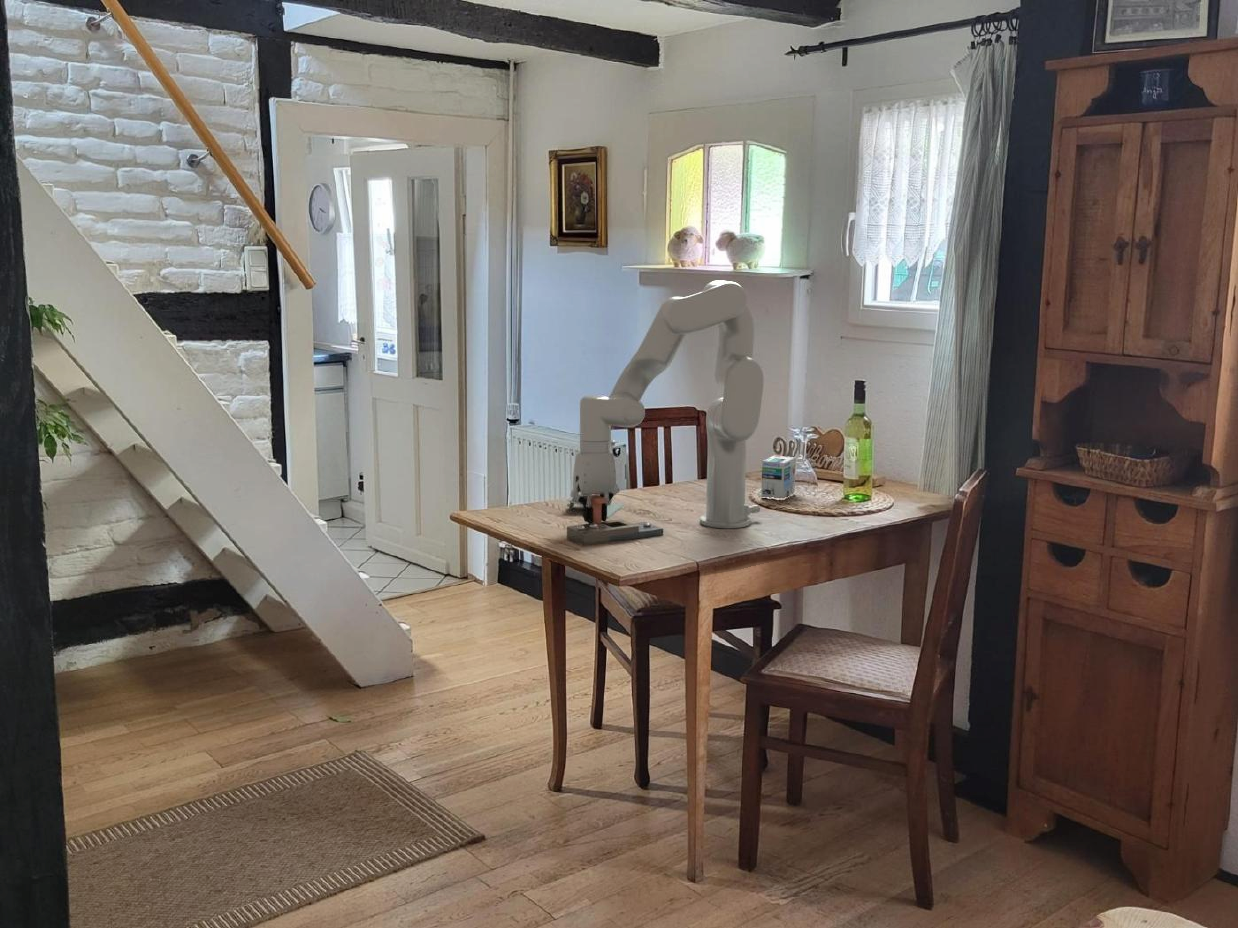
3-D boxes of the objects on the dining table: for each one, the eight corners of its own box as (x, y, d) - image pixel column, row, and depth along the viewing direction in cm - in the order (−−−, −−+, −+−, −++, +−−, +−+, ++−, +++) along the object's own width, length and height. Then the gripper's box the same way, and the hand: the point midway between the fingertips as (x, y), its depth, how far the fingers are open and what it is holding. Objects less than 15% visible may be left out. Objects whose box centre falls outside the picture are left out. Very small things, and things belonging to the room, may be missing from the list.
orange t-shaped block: (593, 524, 281) (593, 493, 280) (608, 530, 275) (608, 498, 274) (582, 526, 280) (582, 494, 278) (596, 532, 274) (596, 499, 272)
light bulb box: (783, 501, 309) (785, 462, 307) (760, 499, 312) (761, 460, 310) (795, 494, 319) (796, 456, 317) (772, 492, 322) (773, 454, 320)
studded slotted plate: (645, 527, 279) (645, 513, 278) (663, 534, 272) (663, 520, 271) (566, 538, 267) (566, 524, 266) (583, 546, 260) (583, 531, 260)
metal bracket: (563, 494, 291) (580, 482, 305) (557, 514, 292) (575, 502, 306) (614, 513, 288) (630, 500, 302) (608, 533, 289) (624, 520, 303)
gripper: (616, 442, 281) (615, 514, 284) (558, 447, 273) (558, 521, 276) (632, 446, 275) (631, 520, 278) (573, 452, 266) (573, 528, 270)
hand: (595, 520), depth 277 cm, fingers closed on orange t-shaped block, 3 cm apart
